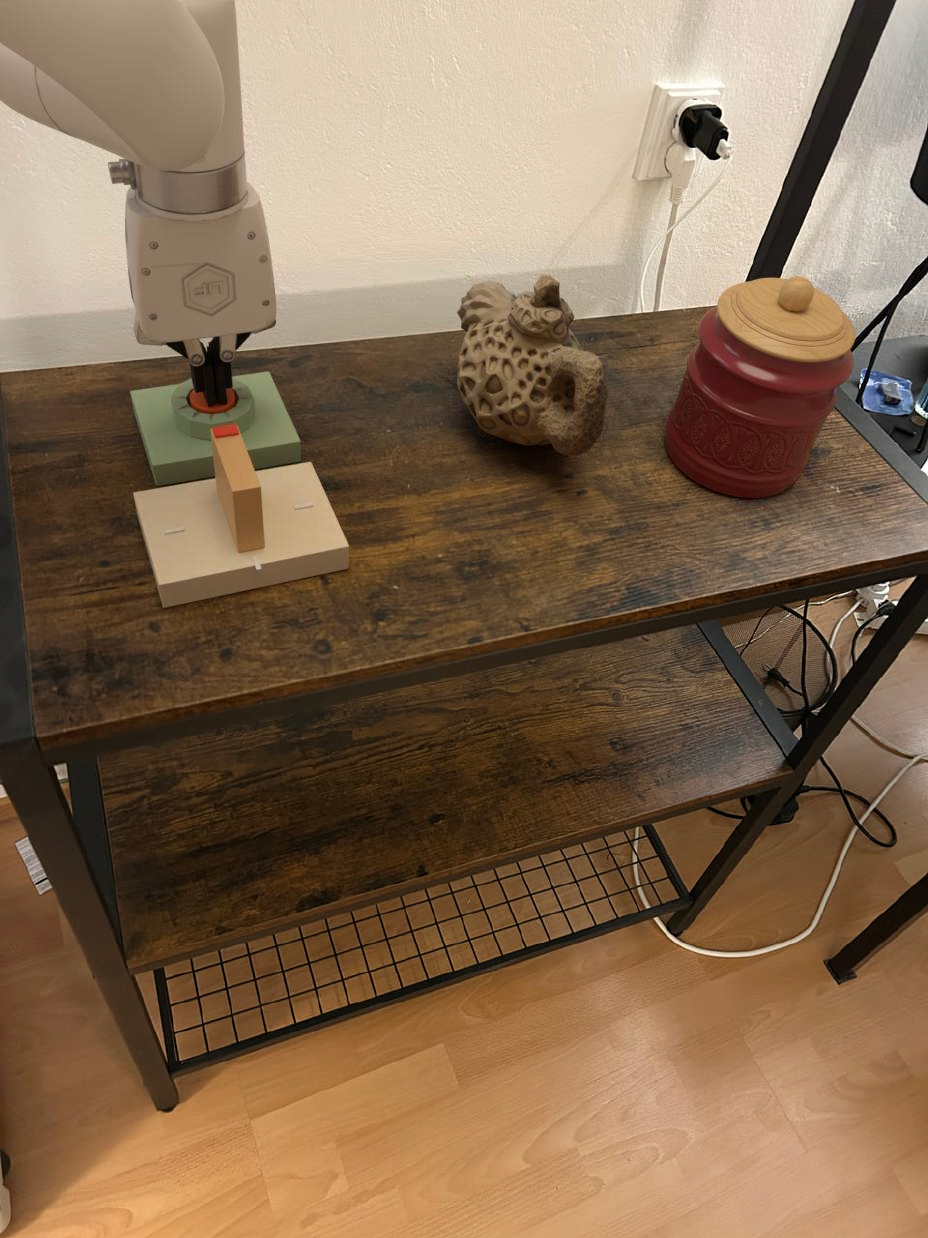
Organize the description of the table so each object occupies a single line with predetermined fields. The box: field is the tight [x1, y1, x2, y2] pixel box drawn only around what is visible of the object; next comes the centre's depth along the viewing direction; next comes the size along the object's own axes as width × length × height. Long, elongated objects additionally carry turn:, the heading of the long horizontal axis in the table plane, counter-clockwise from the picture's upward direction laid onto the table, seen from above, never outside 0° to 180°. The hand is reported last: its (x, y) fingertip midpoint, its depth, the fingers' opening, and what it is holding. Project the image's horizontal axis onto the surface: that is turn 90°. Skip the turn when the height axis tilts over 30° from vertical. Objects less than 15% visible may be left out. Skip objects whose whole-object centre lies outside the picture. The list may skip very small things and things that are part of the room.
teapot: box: [456, 274, 609, 456], centre depth 82 cm, size 21×12×15 cm, turn 27°
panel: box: [132, 461, 350, 609], centre depth 74 cm, size 14×11×3 cm
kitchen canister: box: [664, 275, 856, 499], centre depth 83 cm, size 13×13×18 cm
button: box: [190, 388, 236, 414], centre depth 80 cm, size 4×4×2 cm
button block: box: [129, 371, 302, 487], centre depth 81 cm, size 12×10×4 cm
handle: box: [210, 424, 265, 552], centre depth 71 cm, size 7×2×6 cm, turn 22°
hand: (213, 394), depth 80 cm, fingers closed
